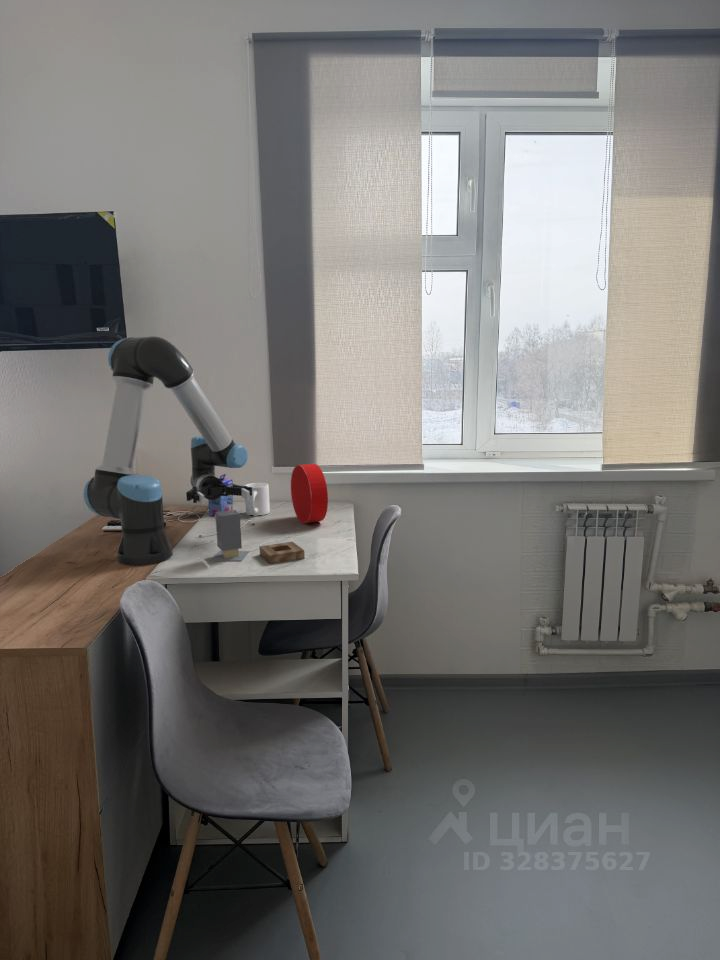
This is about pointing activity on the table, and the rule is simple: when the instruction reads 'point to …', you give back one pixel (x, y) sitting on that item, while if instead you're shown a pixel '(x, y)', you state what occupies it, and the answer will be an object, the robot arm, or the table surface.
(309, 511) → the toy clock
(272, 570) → the table surface
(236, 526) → the plug
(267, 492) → the mug
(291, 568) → the table surface
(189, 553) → the table surface
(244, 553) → the mat
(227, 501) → the ink cartridge box
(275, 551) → the socket block
